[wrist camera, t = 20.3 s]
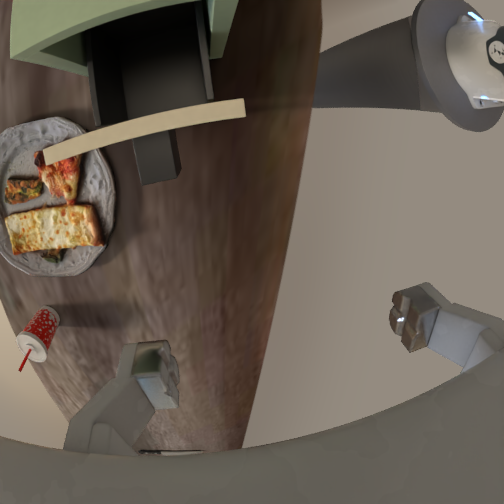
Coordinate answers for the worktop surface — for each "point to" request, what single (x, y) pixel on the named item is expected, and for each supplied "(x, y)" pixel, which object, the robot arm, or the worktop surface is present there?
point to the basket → (149, 87)
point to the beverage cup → (38, 335)
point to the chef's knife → (170, 452)
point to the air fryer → (90, 15)
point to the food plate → (53, 201)
